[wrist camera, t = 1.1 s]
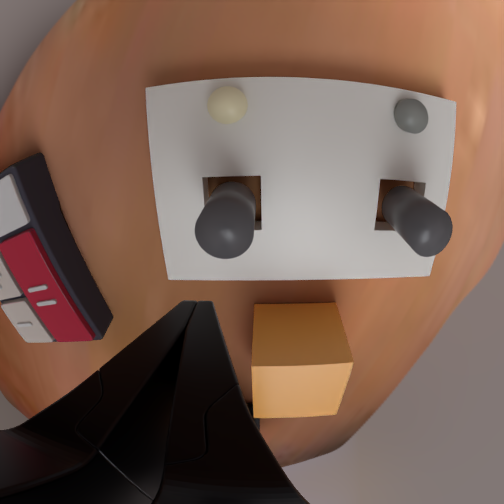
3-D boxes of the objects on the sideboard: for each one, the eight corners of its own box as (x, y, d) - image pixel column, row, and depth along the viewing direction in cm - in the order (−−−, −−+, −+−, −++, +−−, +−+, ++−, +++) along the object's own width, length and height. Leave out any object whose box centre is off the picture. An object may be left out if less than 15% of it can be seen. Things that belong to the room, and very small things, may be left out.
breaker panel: (421, 265, 20) (433, 280, 18) (174, 268, 20) (166, 284, 18) (443, 101, 14) (461, 102, 12) (154, 89, 15) (141, 87, 13)
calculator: (25, 347, 22) (-52, 214, 14) (43, 320, 25) (-22, 195, 18) (101, 347, 20) (6, 166, 13) (119, 311, 24) (43, 149, 17)
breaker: (415, 226, 17) (445, 256, 13) (379, 225, 17) (405, 257, 13) (421, 187, 15) (456, 209, 12) (384, 184, 16) (415, 206, 12)
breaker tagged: (256, 225, 17) (254, 258, 13) (211, 226, 17) (197, 259, 14) (255, 181, 16) (253, 203, 12) (207, 182, 16) (191, 205, 12)
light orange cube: (325, 357, 24) (336, 414, 19) (255, 359, 24) (253, 418, 19) (335, 302, 21) (353, 362, 16) (254, 303, 21) (251, 366, 16)
